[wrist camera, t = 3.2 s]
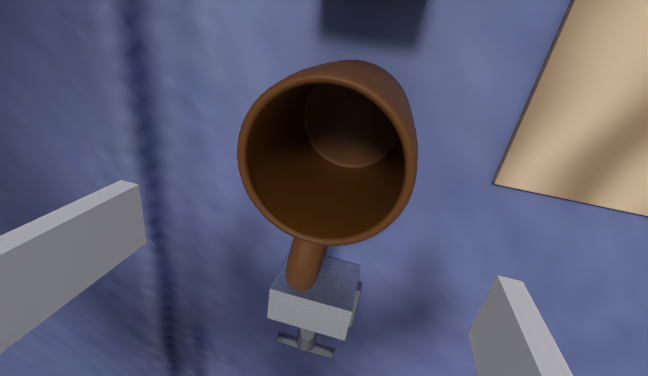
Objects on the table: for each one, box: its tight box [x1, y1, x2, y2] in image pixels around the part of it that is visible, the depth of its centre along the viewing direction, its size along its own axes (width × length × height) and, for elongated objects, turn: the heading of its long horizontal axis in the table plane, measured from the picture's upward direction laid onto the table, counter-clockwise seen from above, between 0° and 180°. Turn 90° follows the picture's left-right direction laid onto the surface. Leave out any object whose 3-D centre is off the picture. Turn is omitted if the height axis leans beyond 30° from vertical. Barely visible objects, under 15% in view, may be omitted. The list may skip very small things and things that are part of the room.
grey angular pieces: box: [267, 251, 362, 359], centre depth 19 cm, size 7×33×5 cm, turn 172°
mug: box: [237, 60, 418, 291], centre depth 17 cm, size 12×8×9 cm, turn 168°
